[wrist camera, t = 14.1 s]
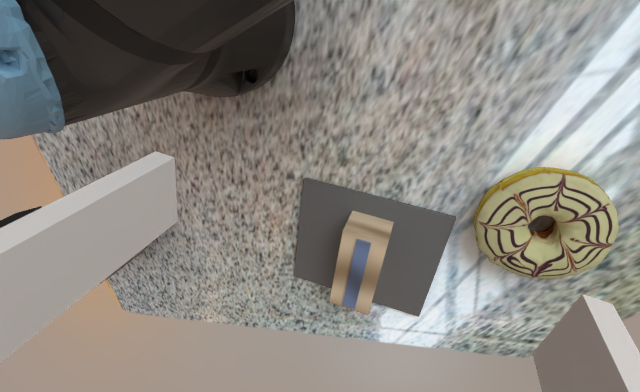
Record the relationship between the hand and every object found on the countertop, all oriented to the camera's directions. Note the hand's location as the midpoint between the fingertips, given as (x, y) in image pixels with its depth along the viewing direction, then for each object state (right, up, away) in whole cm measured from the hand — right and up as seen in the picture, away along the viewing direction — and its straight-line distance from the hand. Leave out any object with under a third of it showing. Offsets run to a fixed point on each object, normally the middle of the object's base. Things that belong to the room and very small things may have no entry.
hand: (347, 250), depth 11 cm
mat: (+4, -4, +28) cm, 29 cm away
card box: (+4, -5, +28) cm, 29 cm away
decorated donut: (+19, 0, +21) cm, 28 cm away
